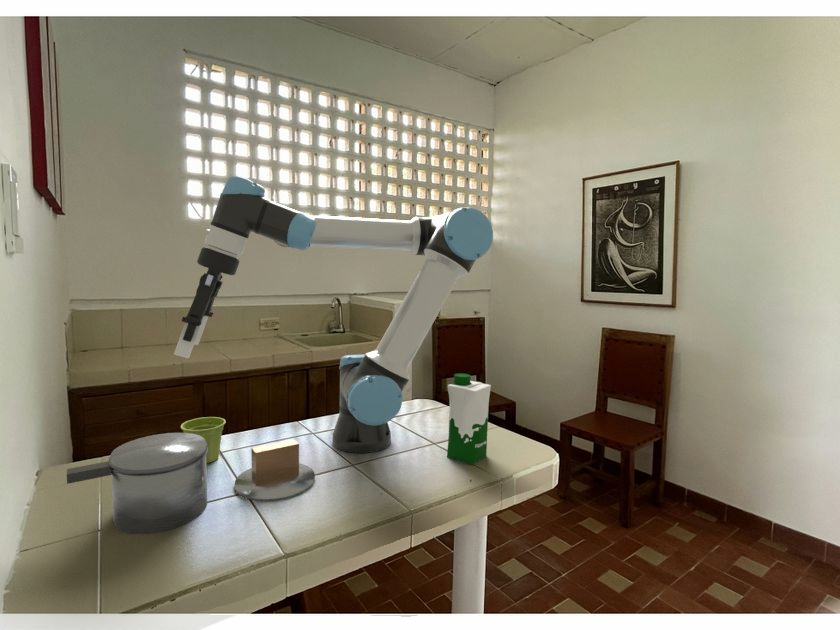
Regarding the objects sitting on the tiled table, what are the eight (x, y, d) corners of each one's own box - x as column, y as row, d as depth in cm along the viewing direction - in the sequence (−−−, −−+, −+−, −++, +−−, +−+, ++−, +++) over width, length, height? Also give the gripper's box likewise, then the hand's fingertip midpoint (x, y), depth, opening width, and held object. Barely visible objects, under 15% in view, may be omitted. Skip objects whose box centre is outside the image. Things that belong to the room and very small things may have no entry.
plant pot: (172, 462, 105) (171, 425, 104) (208, 448, 113) (207, 414, 113) (199, 471, 101) (198, 433, 100) (235, 456, 109) (234, 421, 108)
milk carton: (460, 446, 119) (463, 370, 117) (492, 456, 113) (495, 376, 111) (441, 457, 112) (444, 376, 110) (473, 467, 106) (477, 383, 104)
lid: (298, 461, 108) (298, 427, 107) (327, 488, 95) (327, 450, 94) (226, 478, 99) (225, 441, 98) (247, 510, 86) (247, 468, 85)
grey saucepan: (200, 483, 95) (198, 427, 94) (217, 517, 83) (216, 452, 82) (71, 513, 83) (67, 448, 82) (69, 558, 70) (64, 483, 69)
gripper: (209, 245, 104) (177, 333, 105) (194, 243, 81) (153, 356, 81) (243, 257, 107) (212, 343, 107) (237, 259, 84) (198, 368, 84)
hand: (186, 349), depth 94 cm, fingers open, 13 cm apart
